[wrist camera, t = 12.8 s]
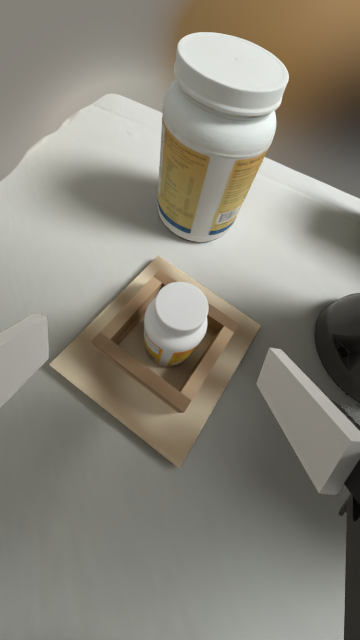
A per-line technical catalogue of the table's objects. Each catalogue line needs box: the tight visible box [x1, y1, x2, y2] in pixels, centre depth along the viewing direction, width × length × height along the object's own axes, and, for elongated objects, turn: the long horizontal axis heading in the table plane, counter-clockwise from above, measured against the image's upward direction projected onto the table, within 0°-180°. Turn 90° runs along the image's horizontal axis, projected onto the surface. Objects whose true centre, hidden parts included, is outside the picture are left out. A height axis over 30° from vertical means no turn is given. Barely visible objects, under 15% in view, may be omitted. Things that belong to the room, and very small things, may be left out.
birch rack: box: [49, 256, 261, 468], centre depth 24 cm, size 18×16×5 cm
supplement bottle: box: [144, 282, 209, 367], centre depth 20 cm, size 5×5×10 cm
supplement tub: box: [157, 32, 289, 242], centre depth 27 cm, size 12×12×17 cm
